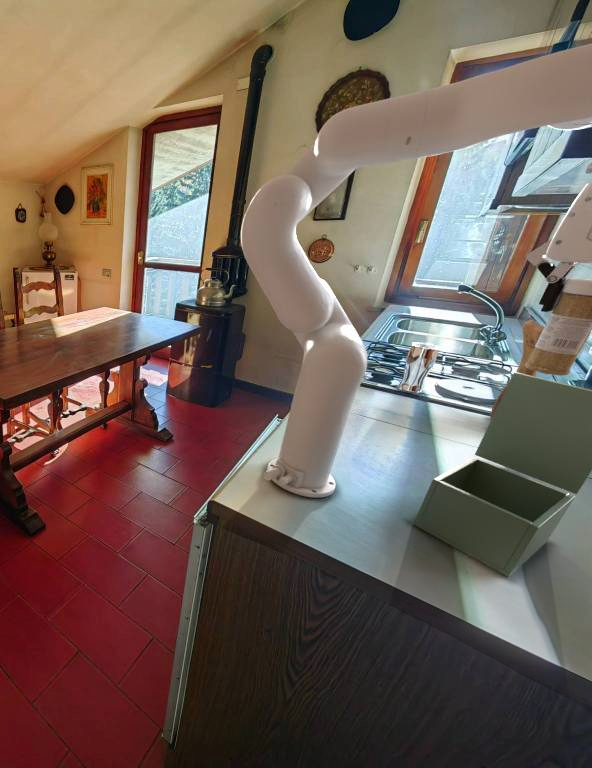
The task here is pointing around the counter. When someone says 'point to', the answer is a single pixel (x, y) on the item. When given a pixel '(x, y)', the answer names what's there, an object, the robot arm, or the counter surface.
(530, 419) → the lid
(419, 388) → the beer glass
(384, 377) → the counter surface
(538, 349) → the sprinkles bottle
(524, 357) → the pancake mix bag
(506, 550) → the green box
